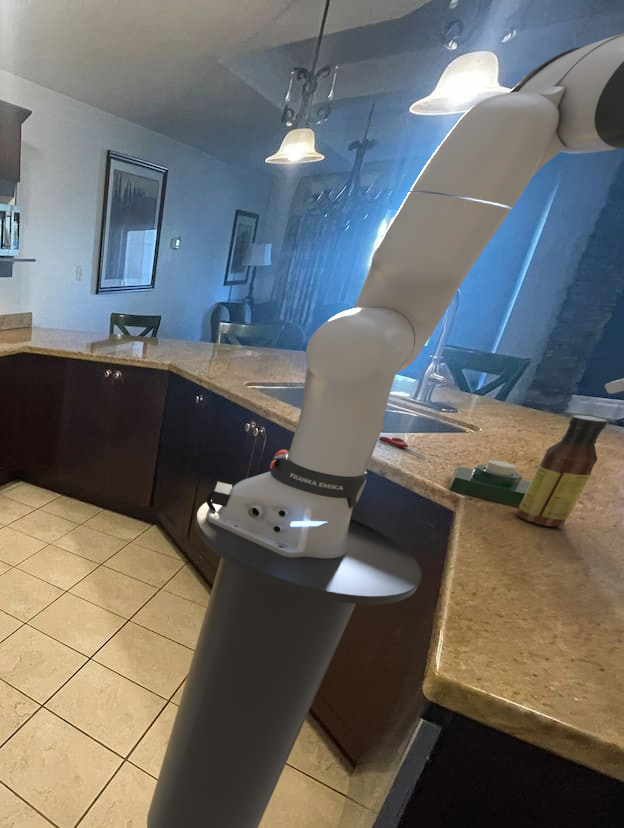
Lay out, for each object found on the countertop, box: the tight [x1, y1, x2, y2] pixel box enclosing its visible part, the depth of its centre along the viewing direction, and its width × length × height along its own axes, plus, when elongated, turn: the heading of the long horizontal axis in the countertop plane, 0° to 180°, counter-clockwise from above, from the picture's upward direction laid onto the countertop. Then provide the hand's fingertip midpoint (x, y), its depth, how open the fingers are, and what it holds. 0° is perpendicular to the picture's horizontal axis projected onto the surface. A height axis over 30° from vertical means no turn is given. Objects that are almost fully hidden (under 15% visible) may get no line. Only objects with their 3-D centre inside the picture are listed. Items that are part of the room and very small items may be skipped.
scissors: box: [378, 436, 424, 457], centre depth 127 cm, size 5×14×1 cm, turn 173°
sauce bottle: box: [517, 414, 608, 528], centre depth 87 cm, size 6×6×20 cm
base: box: [448, 464, 531, 508], centre depth 102 cm, size 12×10×5 cm
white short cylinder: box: [485, 459, 517, 476], centre depth 100 cm, size 4×4×2 cm
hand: (619, 384), depth 82 cm, fingers open, 8 cm apart
